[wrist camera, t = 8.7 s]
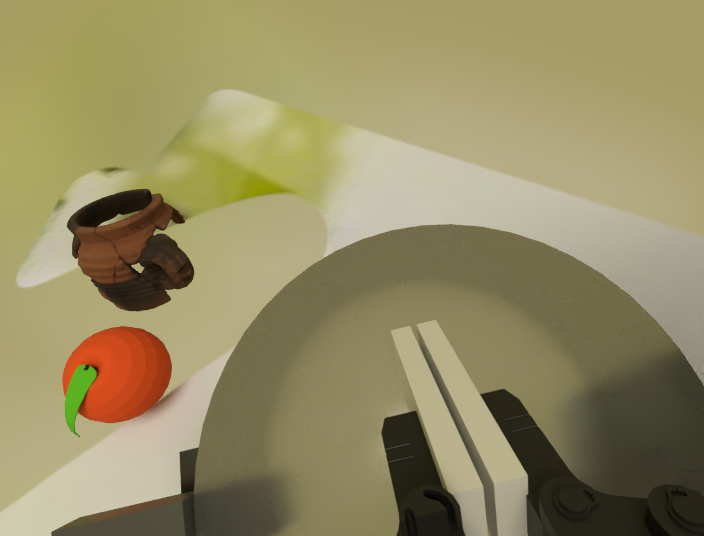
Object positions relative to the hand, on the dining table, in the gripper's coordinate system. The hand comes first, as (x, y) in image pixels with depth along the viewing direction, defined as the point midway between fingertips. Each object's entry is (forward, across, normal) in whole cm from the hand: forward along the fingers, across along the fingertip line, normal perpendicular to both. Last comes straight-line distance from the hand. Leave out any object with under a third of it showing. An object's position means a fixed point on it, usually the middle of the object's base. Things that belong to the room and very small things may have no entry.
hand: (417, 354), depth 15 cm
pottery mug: (+23, -19, -1) cm, 29 cm away
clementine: (+15, -20, -8) cm, 27 cm away
